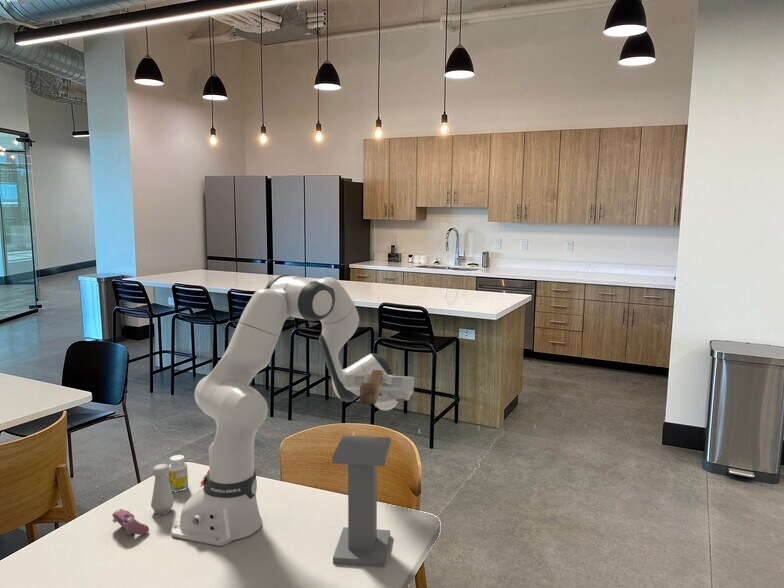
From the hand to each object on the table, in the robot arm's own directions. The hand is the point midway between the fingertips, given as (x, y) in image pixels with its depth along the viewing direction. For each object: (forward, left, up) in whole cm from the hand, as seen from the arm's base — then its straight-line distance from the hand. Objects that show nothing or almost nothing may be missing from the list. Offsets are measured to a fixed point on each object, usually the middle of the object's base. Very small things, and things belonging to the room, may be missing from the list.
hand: (376, 377), depth 157 cm
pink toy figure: (-60, -23, -36) cm, 74 cm away
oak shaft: (0, -6, -2) cm, 7 cm away
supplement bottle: (-59, 0, -36) cm, 69 cm away
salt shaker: (-57, -13, -36) cm, 69 cm away
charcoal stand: (0, -24, -36) cm, 43 cm away
